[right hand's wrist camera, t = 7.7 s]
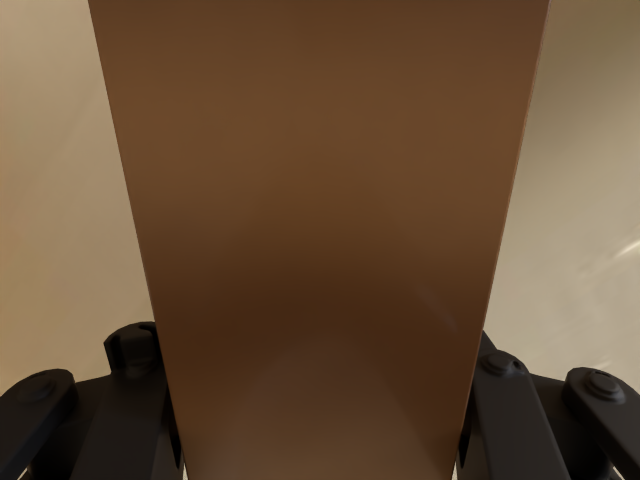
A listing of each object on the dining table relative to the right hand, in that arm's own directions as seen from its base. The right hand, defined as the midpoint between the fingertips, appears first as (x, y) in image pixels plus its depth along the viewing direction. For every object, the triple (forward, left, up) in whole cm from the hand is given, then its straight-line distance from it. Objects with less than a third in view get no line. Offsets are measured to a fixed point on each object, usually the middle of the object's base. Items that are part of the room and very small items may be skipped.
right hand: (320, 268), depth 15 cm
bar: (+4, +7, -1) cm, 8 cm away
